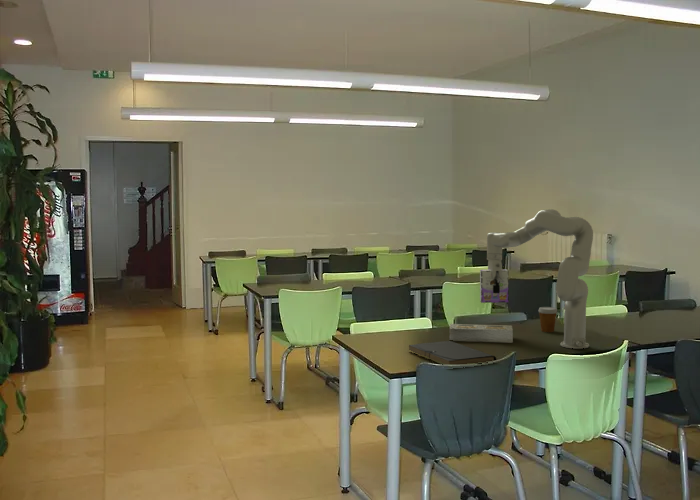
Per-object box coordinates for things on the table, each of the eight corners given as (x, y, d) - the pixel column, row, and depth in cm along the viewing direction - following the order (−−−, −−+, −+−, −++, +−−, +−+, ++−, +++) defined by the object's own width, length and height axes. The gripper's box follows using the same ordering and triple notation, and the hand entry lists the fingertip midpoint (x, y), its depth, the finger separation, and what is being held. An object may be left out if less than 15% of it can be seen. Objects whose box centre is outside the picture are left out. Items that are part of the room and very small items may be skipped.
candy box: (506, 301, 343) (507, 269, 342) (508, 302, 337) (508, 270, 336) (479, 301, 344) (479, 269, 343) (481, 302, 338) (481, 270, 337)
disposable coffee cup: (554, 333, 340) (554, 310, 339) (535, 331, 345) (536, 308, 344) (559, 330, 348) (559, 307, 347) (540, 328, 353) (541, 306, 352)
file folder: (408, 344, 304) (453, 339, 314) (408, 353, 304) (452, 348, 314) (448, 360, 274) (496, 354, 284) (448, 369, 274) (496, 364, 284)
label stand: (511, 337, 332) (511, 324, 332) (512, 342, 321) (512, 329, 320) (450, 335, 338) (450, 323, 338) (449, 340, 326) (449, 327, 326)
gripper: (507, 258, 331) (506, 294, 332) (496, 255, 348) (496, 289, 349) (492, 258, 330) (492, 294, 331) (482, 255, 347) (482, 289, 349)
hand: (494, 291), depth 340 cm, fingers closed on candy box, 6 cm apart
